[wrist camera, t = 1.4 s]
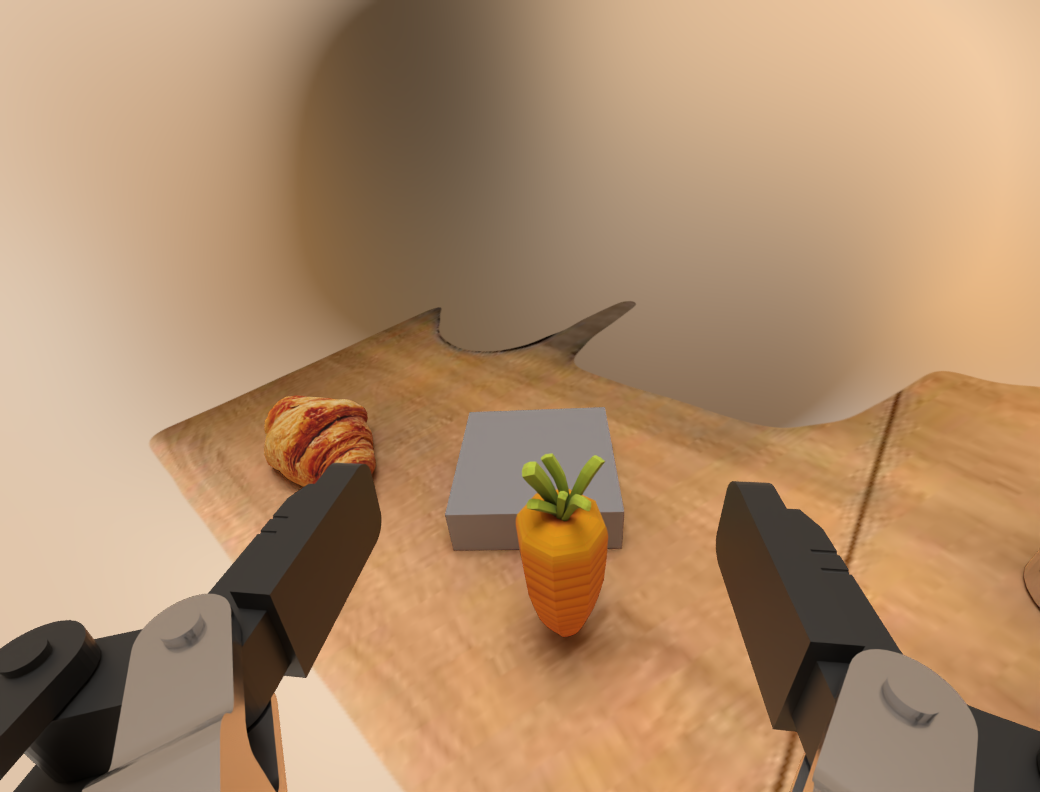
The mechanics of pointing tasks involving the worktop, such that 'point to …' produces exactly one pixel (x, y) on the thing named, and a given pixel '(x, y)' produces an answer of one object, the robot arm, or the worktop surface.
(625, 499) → the worktop surface
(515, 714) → the worktop surface
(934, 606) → the worktop surface
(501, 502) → the base block
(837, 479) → the worktop surface
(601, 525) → the carrot
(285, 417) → the croissant
